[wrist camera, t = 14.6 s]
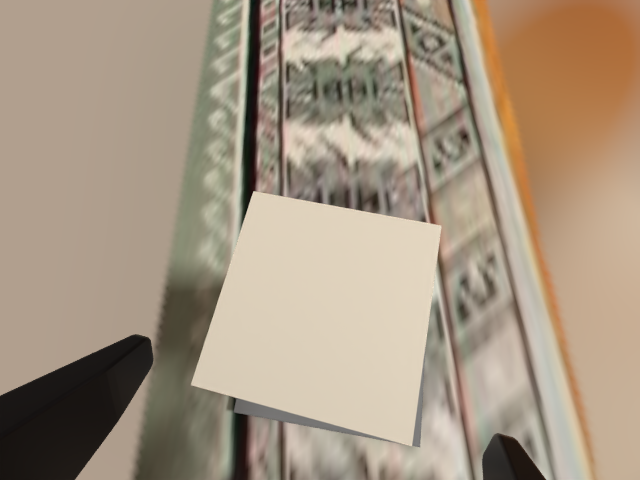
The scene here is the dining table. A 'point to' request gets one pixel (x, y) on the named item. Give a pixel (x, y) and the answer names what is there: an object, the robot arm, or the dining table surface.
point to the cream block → (325, 315)
